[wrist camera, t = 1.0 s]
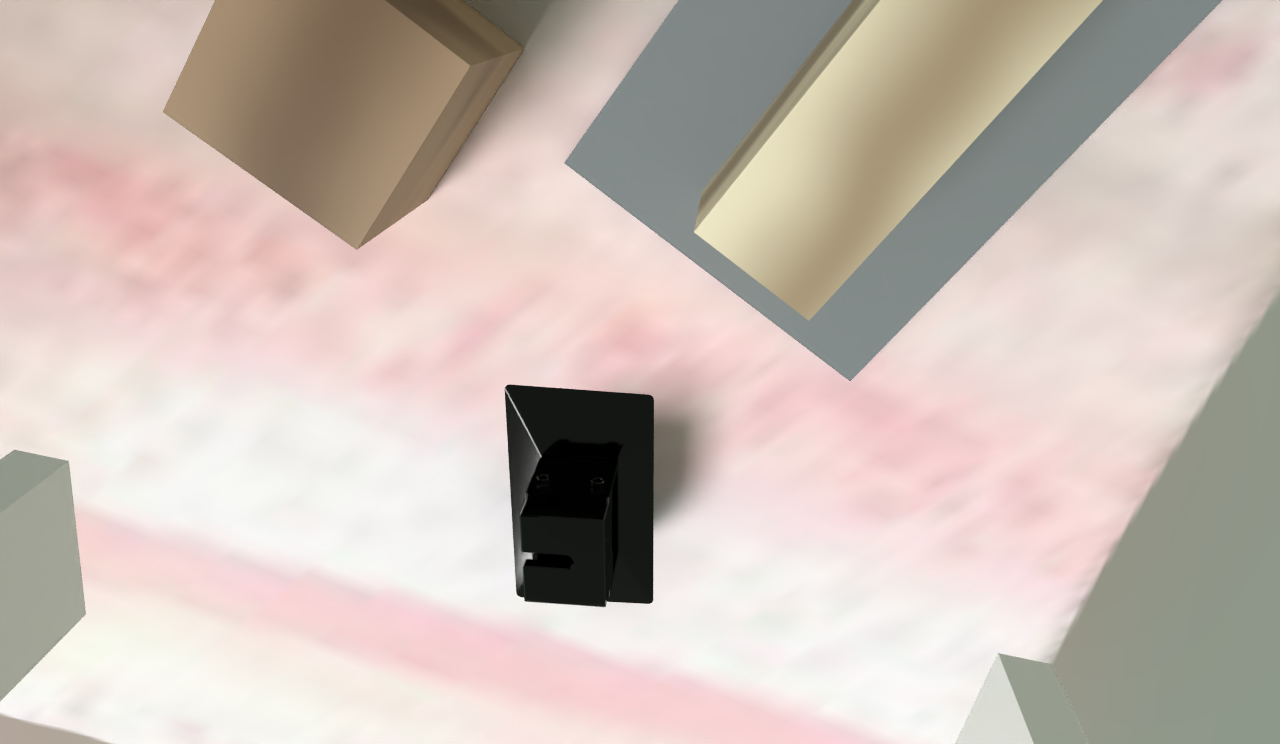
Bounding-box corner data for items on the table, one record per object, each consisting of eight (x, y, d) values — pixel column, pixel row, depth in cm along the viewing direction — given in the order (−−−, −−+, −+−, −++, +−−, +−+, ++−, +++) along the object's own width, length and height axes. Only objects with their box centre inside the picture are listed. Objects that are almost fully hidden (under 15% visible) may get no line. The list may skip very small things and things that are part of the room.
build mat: (566, 160, 29) (564, 163, 28) (922, -345, 22) (925, -350, 22) (848, 376, 31) (850, 381, 30) (1247, -34, 24) (1255, -34, 24)
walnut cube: (273, 86, 29) (162, 111, 23) (360, -81, 26) (260, -96, 21) (427, 199, 30) (356, 249, 24) (524, 48, 27) (470, 66, 22)
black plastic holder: (486, 338, 32) (447, 390, 28) (686, 346, 32) (678, 401, 27) (505, 614, 37) (474, 695, 33) (678, 626, 36) (670, 710, 32)
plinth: (701, 190, 28) (693, 232, 24) (983, -166, 23) (1040, -200, 19) (798, 266, 29) (808, 320, 24) (1091, -65, 24) (1171, -75, 20)
